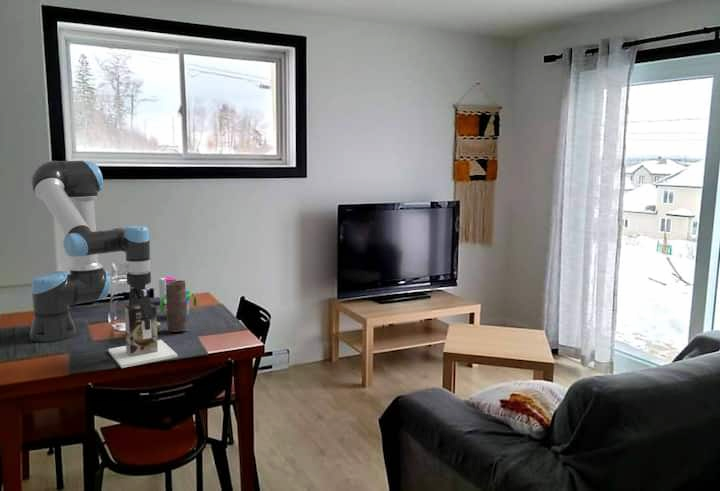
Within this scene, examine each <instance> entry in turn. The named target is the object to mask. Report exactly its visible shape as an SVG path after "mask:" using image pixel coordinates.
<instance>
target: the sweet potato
mask: <svg viewBox="0 0 720 491" xmlns="http://www.w3.org/2000/svg"><path fill="white" fill-rule="evenodd" d="M186 291H187V289H186V280H181V279H179V280H176V281H169V282H168V283H167V284H166V298H167V304H166V321H167V324H166V325H167V331H168V332H173V333H178V332H186V331H188V316H187V309H186Z"/></svg>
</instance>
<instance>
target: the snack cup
mask: <svg viewBox="0 0 720 491" xmlns="http://www.w3.org/2000/svg"><path fill="white" fill-rule="evenodd" d="M192 297H193V298H194V300H193V306H194V307H197V306H198V300H197V297H196V294H195V293H192V292H191V291H189V290H186V309H187V317H188V316H189V314H190V304H191V299H192ZM165 299H166V300H167V298H166V294H165V296H164V297H163V298H162V299H161V302H160V301H159V310H160V312H161V313H164V304H163V301H164V300H165Z"/></svg>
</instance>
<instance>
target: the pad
mask: <svg viewBox="0 0 720 491" xmlns="http://www.w3.org/2000/svg"><path fill="white" fill-rule="evenodd" d="M157 344H158V351H157V352H152V353H147V354H141V355H136V356H130V355H129V354H128V352H127V351H126V345H123V346H118V347H117V346H116V347H112V348H111V347H110V348H108V350H107V351H108V353H109V354H110V355H111V357H112V358H113V359H114V361H115V362H116V363H117V365H118V366H119V367H120V368H121V369H124V368H128V367H134V366H135V367H136V366H140V365H145V364H149V363H153V362H154V363H155V362H159V361H164V360H169V359H174V358H178V353H176V351H174V350H173V349H172V348H171V347H170V346H169V345H168V344H167V343H165V341H163V339H157Z"/></svg>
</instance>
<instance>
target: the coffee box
mask: <svg viewBox="0 0 720 491" xmlns="http://www.w3.org/2000/svg"><path fill="white" fill-rule="evenodd" d="M150 303H151V309H152V315H153V319H151V335H152V338H148V339H143V336H142V321H141V318H142V314H141V309H140V305H132V306H129V305H126V306H124V319H125V320H124V324H125V346H126V351H127V352H128V354H129V355H130V356H136V355H141V354H147V353H152V352H157V351H158V344H157V340H158V331H157V322H158V321H157V320H158V319H157V306H156V305H154V304H153V303H152V302H150ZM147 316H148V315H147Z"/></svg>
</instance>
